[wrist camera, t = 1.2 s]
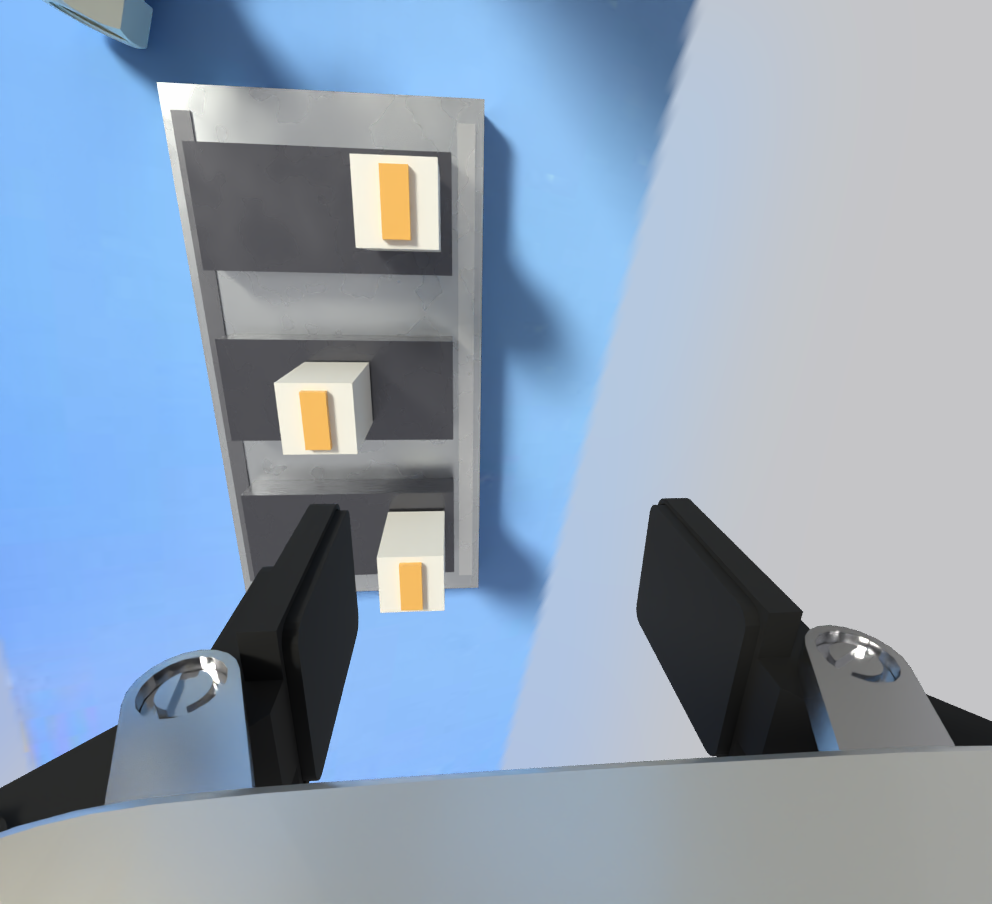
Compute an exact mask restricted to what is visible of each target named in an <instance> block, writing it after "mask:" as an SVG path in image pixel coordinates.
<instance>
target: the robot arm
mask: <svg viewBox="0 0 992 904" xmlns="http://www.w3.org/2000/svg"><path fill="white" fill-rule="evenodd" d="M636 610H637V618H638V621H639V624H640V626H641V627H642V629H643V631H644V633H645V635H646V637H647V639H648V641H649V643H650V645H651V647H652V649H653V650H654V652H655V654H656V656H657V658H658V660H659V662H660V664H661V665H662V668H663V670H664V672H665V673H666V675H667V677H668V679H669V681H670V683H671V685H672V687H673V689H674V691H675V693H676V694H677V696H678V698H679V700H680V702H681V704H682V706H683V708H684V710H685V711H686V714H687V715H688V717H689V719H690V721H691V723H692V725H693V727H694V729H695V731H696V732H697V734H698V737H699V738H700V740H701V742H702V744H703V746H704V748H705V749H706V751H707V753H708V754H709V755H711V756H717V757H712V758H693V759H676V760H661V761H643V762H627V763H611V764H594V765H578V766H562V767H548V768H547V767H546V768H530V769H514V770H498V771H483V772H468V773H453V774H439V775H424V776H409V777H395V778H380V779H365V780H351V781H336V782H321V783H309V781H317V780H319V779H320V777H321V775H322V772H323V768H324V764H325V760H326V756H327V752H328V748H329V744H330V740H331V736H332V732H333V728H334V724H335V720H336V716H337V712H338V708H339V704H340V700H341V696H342V692H343V688H344V684H345V680H346V676H347V672H348V668H349V664H350V660H351V656H352V652H353V648H354V644H355V640H356V636H357V631H358V606H357V595H356V583H355V571H354V559H353V548H352V536H351V524H350V515H349V511H348V510H340V507H339V505H338V504H310V505H309V506H308V508H307V510H306V512H305V513H304V515H303V517H302V519H301V520H300V522H299V524H298V525H297V527H296V529H295V531H294V532H293V534H292V536H291V537H290V539H289V541H288V543H287V544H286V546H285V548H284V550H283V551H282V553H281V555H280V556H279V558H278V560H277V562H276V563H275V565H274V566H266V567H262V569H261V570H260V571H259V572H258V574H257V576H256V577H255V579H254V580H253V582H252V584H251V585H250V587H249V588H248V590H247V592H246V593H245V595H244V597H243V598H242V600H241V601H240V603H239V605H238V606H237V608H236V610H235V611H234V613H233V614H232V616H231V618H230V619H229V621H228V622H227V624H226V626H225V627H224V629H223V631H222V632H221V634H220V635H219V637H218V639H217V640H216V642H215V643H214V645H213V647H212V648H211V650H197V651H192V652H187V653H183V654H180V655H178V656H175V657H172V658H170V659H167V660H165V661H163V662H162V663H160V664H158V665H156V666H154V667H153V668H151V669H149V670H148V671H147V672H146V673H144V674H143V675H142V676H141V677H139V678H138V679H137V680H136V681H135V682H134V683H133V685H132V686H131V687H130V688H129V690H128V691H127V692H126V694H125V697H124V699H123V702H122V704H121V709H120V715H119V721H118V725H116V726H114V727H113V728H111V729H109V730H107V731H105V732H103V733H101V734H100V735H98V736H96V737H94V738H92V739H90V740H88V741H87V742H85V743H83V744H81V745H79V746H77V747H76V748H74V749H72V750H70V751H68V752H66V753H64V754H63V755H61V756H59V757H57V758H55V759H53V760H51V761H50V762H48V763H46V764H44V765H42V766H40V767H38V768H37V769H35V770H33V771H31V772H29V773H27V774H26V775H24V776H22V777H20V778H18V779H16V780H14V781H13V782H11V783H9V784H7V785H5V786H3V787H1V788H0V904H992V721H989V720H987V719H985V718H982V717H980V716H977V715H975V714H973V713H970V712H968V711H965V710H963V709H961V708H958V707H956V706H953V705H951V704H948V703H946V702H944V701H941V700H939V699H936V698H934V697H931V696H929V695H927V694H925V692H924V690H923V688H922V686H921V685H920V683H919V681H918V679H917V678H916V676H915V674H914V672H913V671H912V669H911V667H910V666H909V665H908V663H907V662H906V661H905V660H904V658H903V657H902V656H901V655H899V654H898V653H897V652H896V651H895V650H893V649H892V648H891V647H890V646H888V645H886V644H884V643H883V642H881V641H879V640H878V639H876V638H874V637H871V636H869V635H867V634H865V633H862V632H860V631H856V630H853V629H849V628H846V627H839V626H832V625H826V626H817V627H815V628H812V629H809V628H808V627H807V626H806V625H805V624H804V623H803V622H802V621H801V616H802V613H803V611H802V610H801V609H800V608H799V607H798V606H797V605H796V604H795V603H794V602H793V601H792V600H791V599H790V598H789V597H788V596H787V595H785V593H784V592H783V591H782V590H781V589H780V588H779V587H778V586H777V585H776V584H774V582H773V581H772V580H771V579H770V578H769V577H768V576H767V575H765V574H764V573H763V572H762V571H761V570H760V569H759V568H758V567H757V566H756V565H755V564H754V563H753V562H752V561H751V560H750V559H749V558H748V557H747V556H746V555H745V554H744V553H743V552H742V551H741V550H740V549H739V548H738V547H737V546H736V545H735V544H734V543H733V542H732V541H731V540H730V539H729V538H728V537H727V536H726V535H725V534H724V533H723V532H722V531H721V530H720V529H719V528H718V527H717V526H716V525H715V524H714V523H713V522H712V521H711V520H710V519H709V518H708V517H707V516H706V515H705V514H704V513H703V512H702V511H701V510H700V509H699V508H698V507H697V506H696V505H695V504H694V503H693V502H692V501H691V500H690V499H688V498H668V499H667V498H666V499H661V500H660V501H659V503H658V505H653V506H652V507H651V510H650V515H649V522H648V529H647V536H646V543H645V551H644V557H643V564H642V571H641V579H640V585H639V592H638V600H637V607H636Z"/></svg>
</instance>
